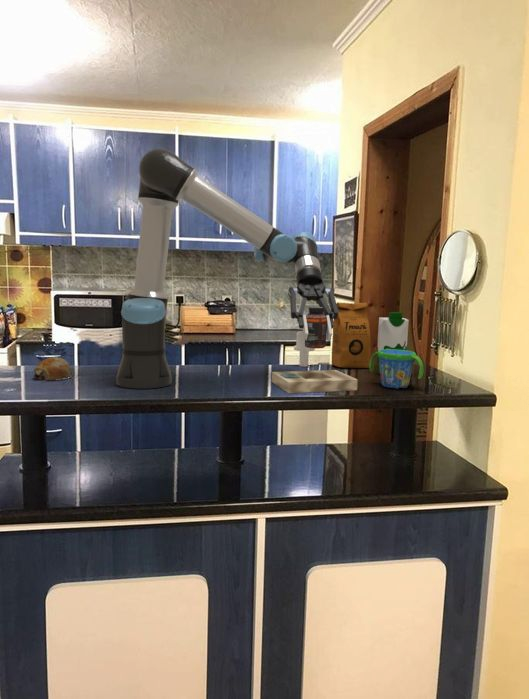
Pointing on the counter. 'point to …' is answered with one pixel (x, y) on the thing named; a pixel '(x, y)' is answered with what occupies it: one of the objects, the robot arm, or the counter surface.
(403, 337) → the milk carton
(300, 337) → the pale grey stepped figure
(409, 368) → the snack cup
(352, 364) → the coffee package
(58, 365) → the bread roll
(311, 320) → the supplement bottle
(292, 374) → the birch socket block
